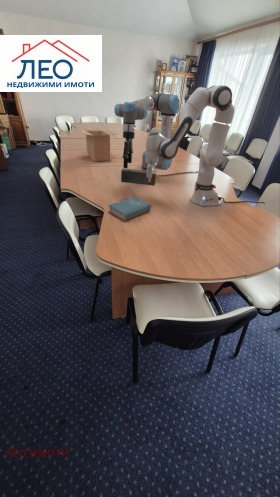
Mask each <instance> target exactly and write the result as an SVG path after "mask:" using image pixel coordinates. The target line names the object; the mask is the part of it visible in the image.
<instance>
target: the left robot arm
mask: <svg viewBox="0 0 280 497" xmlns="http://www.w3.org/2000/svg"><path fill="white" fill-rule="evenodd" d="M113 110H114V115H115V116H116V117H119V118H123V121H122V138H123V139H125V140H124V141H123V142H124V143H123V144H124V145H123V153H122V158H123V165H122V166H123V168H124V169H129V168H128V167H129V164H132V162H133V154H134V151H133V149H134V146H133V140H135V135H136V133H135V130H136V127H137V126H136V121H143V120H145V119H146V118H147V116H148V112H152V111H154V112H160V116H161V125H160V132H159V133H160V134H161V135H162V136H163V137H165V138H167V139H171V138H172V131H173V130H172V129H173V124H174V118H176V115H177V114H178V113H180V112H179V111H180V110H181V100H180V96H178V95H177V94H174V93H162V92H158V93H153V94H150V95H147V96H145V97H144V98H141V99H138V100H137V99H136V100H133V101H125V102H123V103H116V104H115V105H114V108H113ZM145 156H146V150H145V151H143V152H142V159H141V160H142V161H141V169H140V170H142V171H147V166H148V165H147V163H146V162H145ZM172 163H173V159H170V160H166V159H164V158H163V157H162V155H161V154H159V159H158V163H157V164H156V166H155V170H154V172H156V169H157V170H162V171H167V170H169V169H170V167H171V165H172ZM123 168H122V169H123ZM198 172H199V170H198V171H197V173H198ZM186 173H187V174H190V173H192V171H184V172H176V173H170V174H157V173H156V176H157V177H166V176H173V175H180V174H186Z"/></svg>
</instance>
